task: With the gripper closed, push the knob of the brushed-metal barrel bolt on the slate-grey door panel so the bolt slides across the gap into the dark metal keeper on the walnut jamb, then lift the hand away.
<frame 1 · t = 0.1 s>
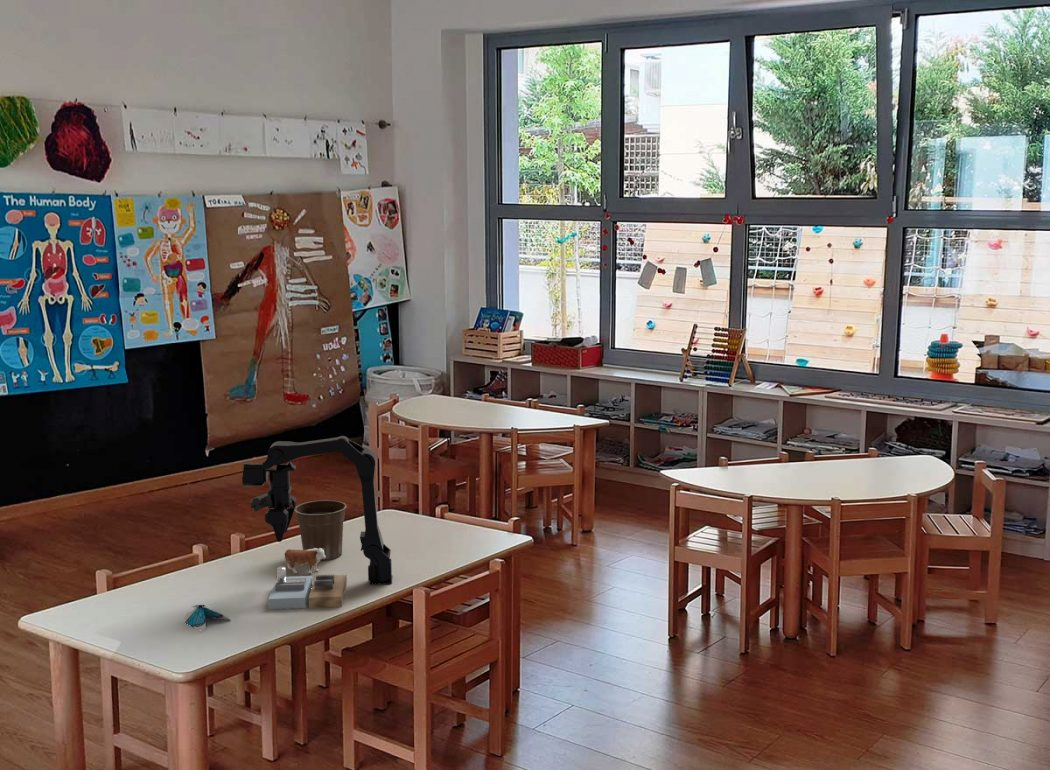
hand: (282, 536, 318), 15 cm above the table, tool pointing down, fingers open, 9 cm apart
jamb: (328, 595, 311), on the table
plant pot: (322, 556, 347), on the table
bull figurine: (307, 573, 331), on the table
bolt: (290, 577, 309), point 6 cm above the table, slide at 0.0 cm
decorative butterfly: (204, 624, 291), on the table
door panel: (291, 597, 310), on the table
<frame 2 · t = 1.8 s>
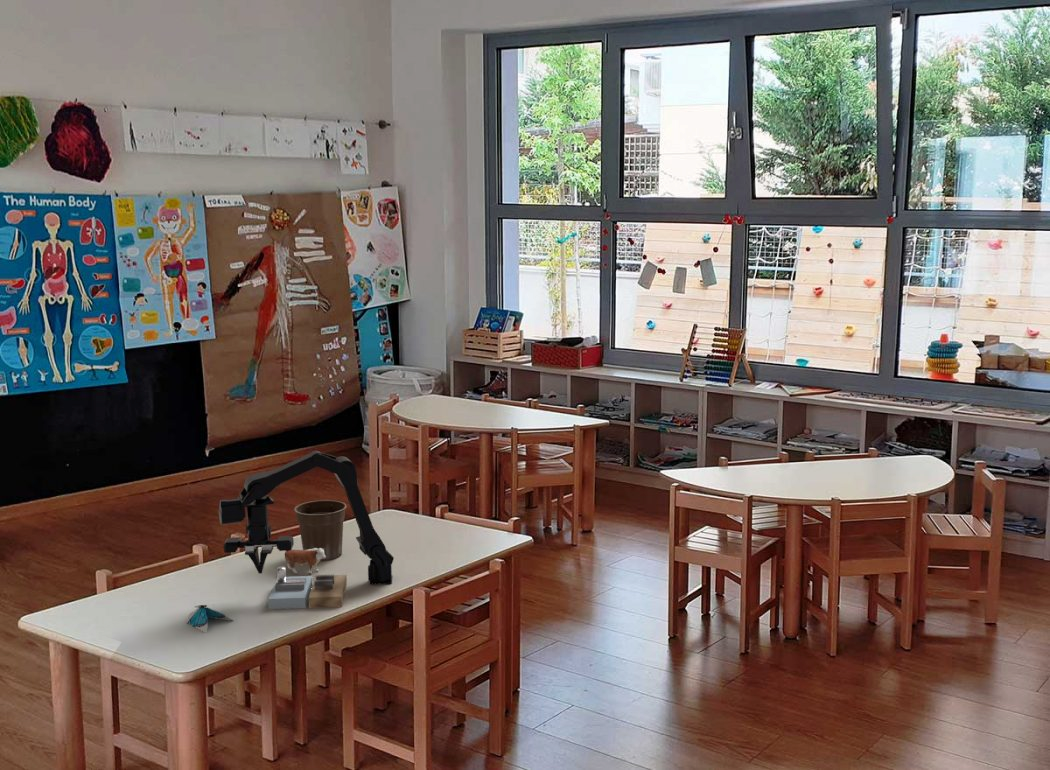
hand: (260, 573, 308), 7 cm above the table, tool pointing down, fingers closed
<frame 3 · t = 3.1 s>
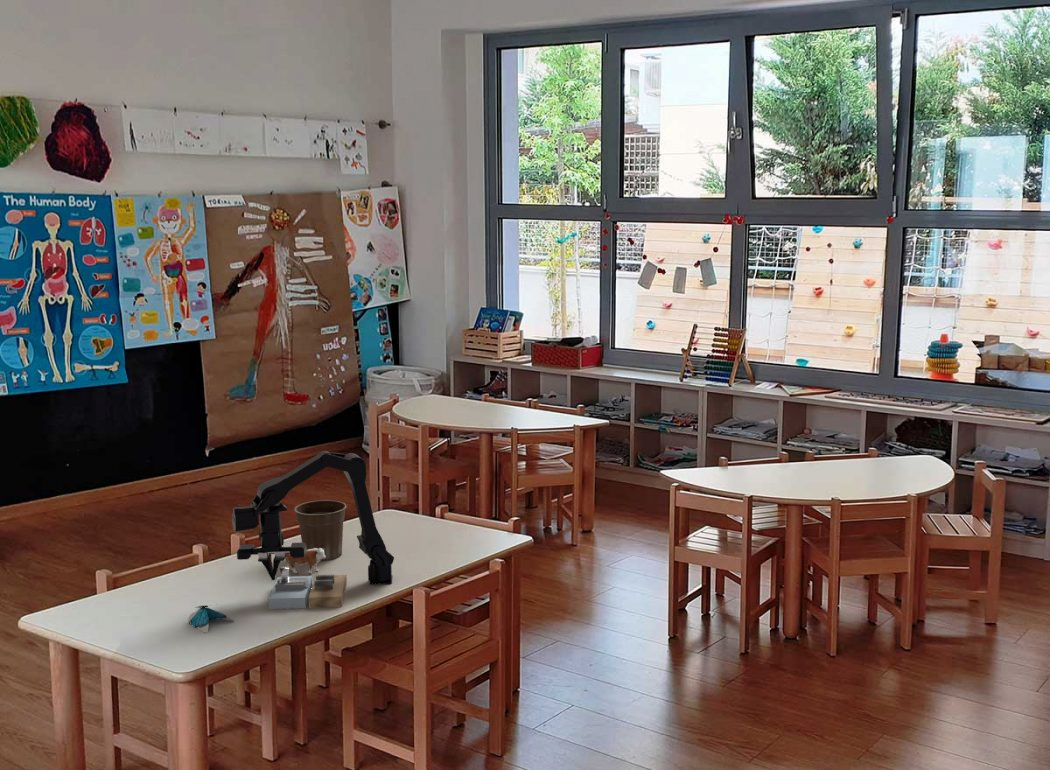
hand: (273, 579, 309), 5 cm above the table, tool pointing down, fingers closed
bolt: (293, 576, 309), point 6 cm above the table, slide at 0.9 cm, touching gripper
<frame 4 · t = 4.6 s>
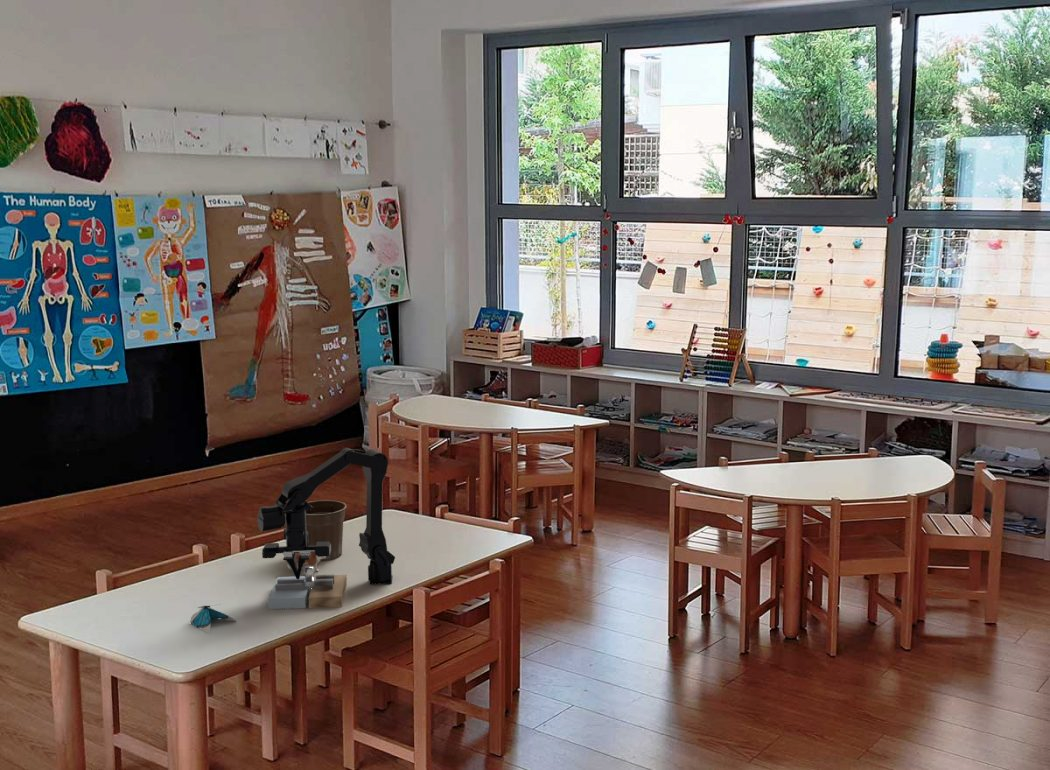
hand: (298, 578, 309), 5 cm above the table, tool pointing down, fingers closed
bolt: (318, 576, 309), point 6 cm above the table, slide at 7.9 cm, touching gripper
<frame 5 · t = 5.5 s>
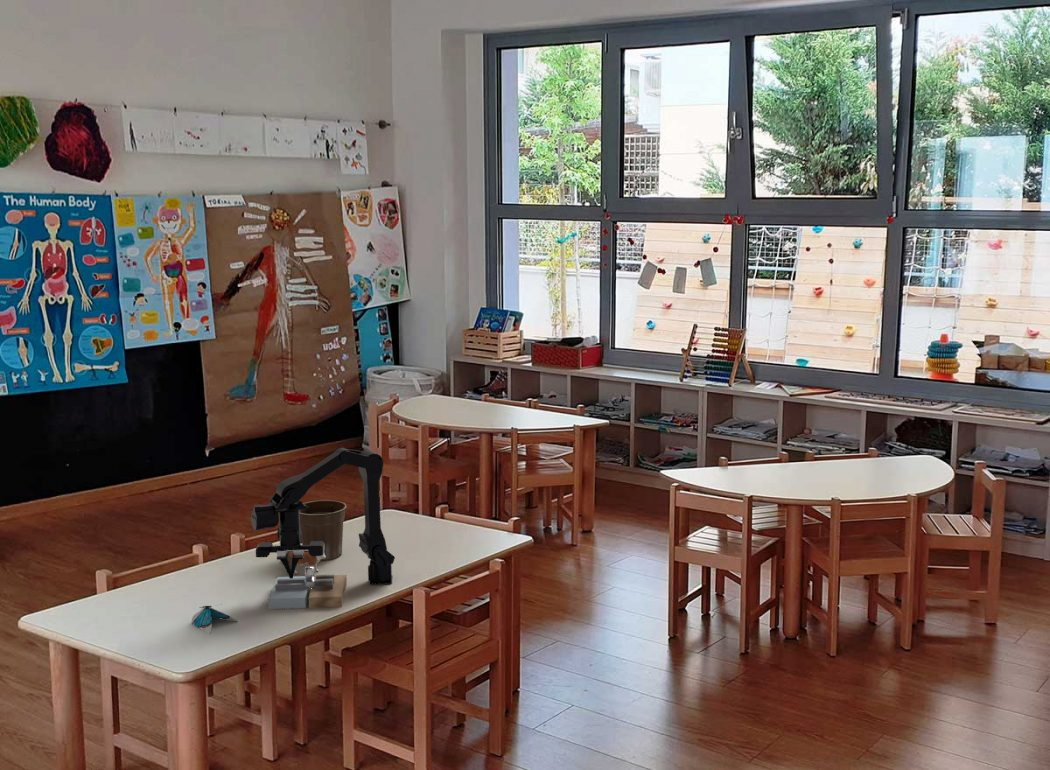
hand: (291, 578, 309), 6 cm above the table, tool pointing down, fingers closed
bolt: (318, 576, 309), point 6 cm above the table, slide at 7.9 cm
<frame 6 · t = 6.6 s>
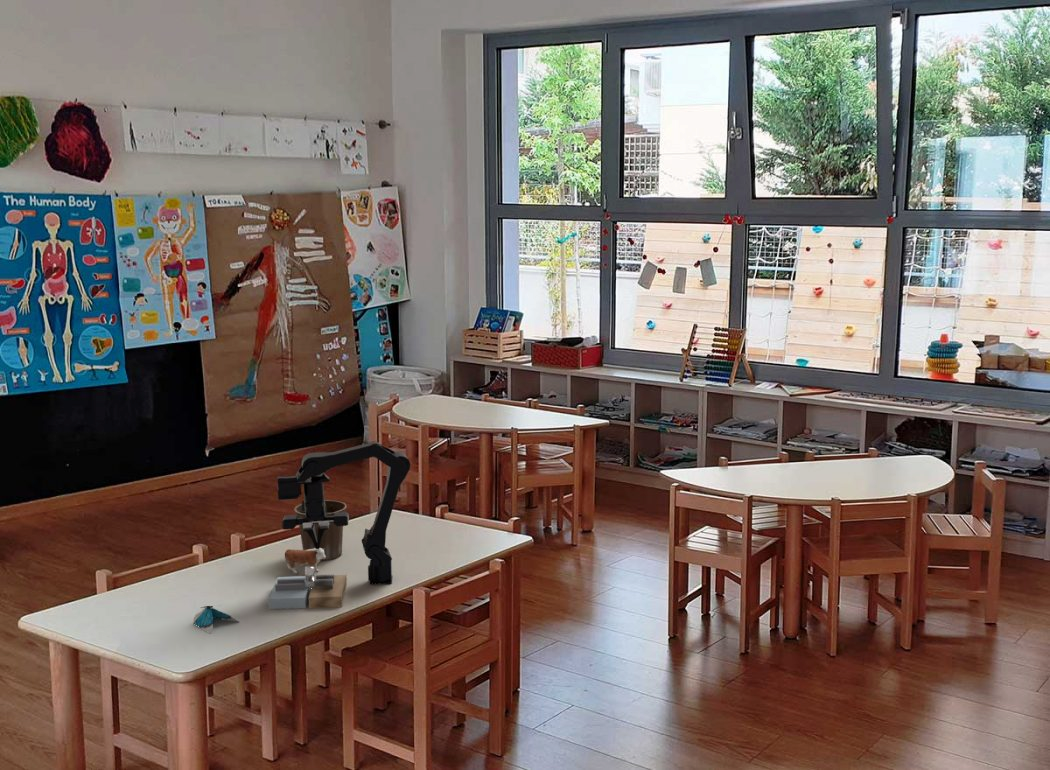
hand: (317, 548, 316), 12 cm above the table, tool pointing down, fingers closed
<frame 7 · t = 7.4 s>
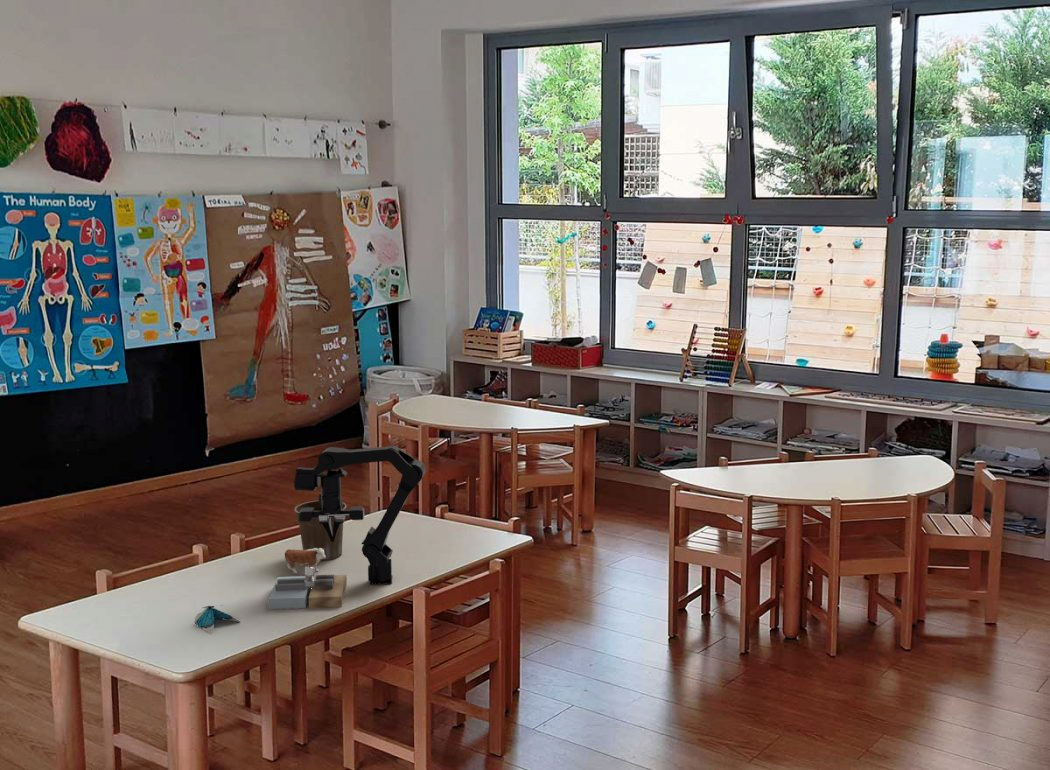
hand: (332, 541, 321), 12 cm above the table, tool pointing down, fingers closed
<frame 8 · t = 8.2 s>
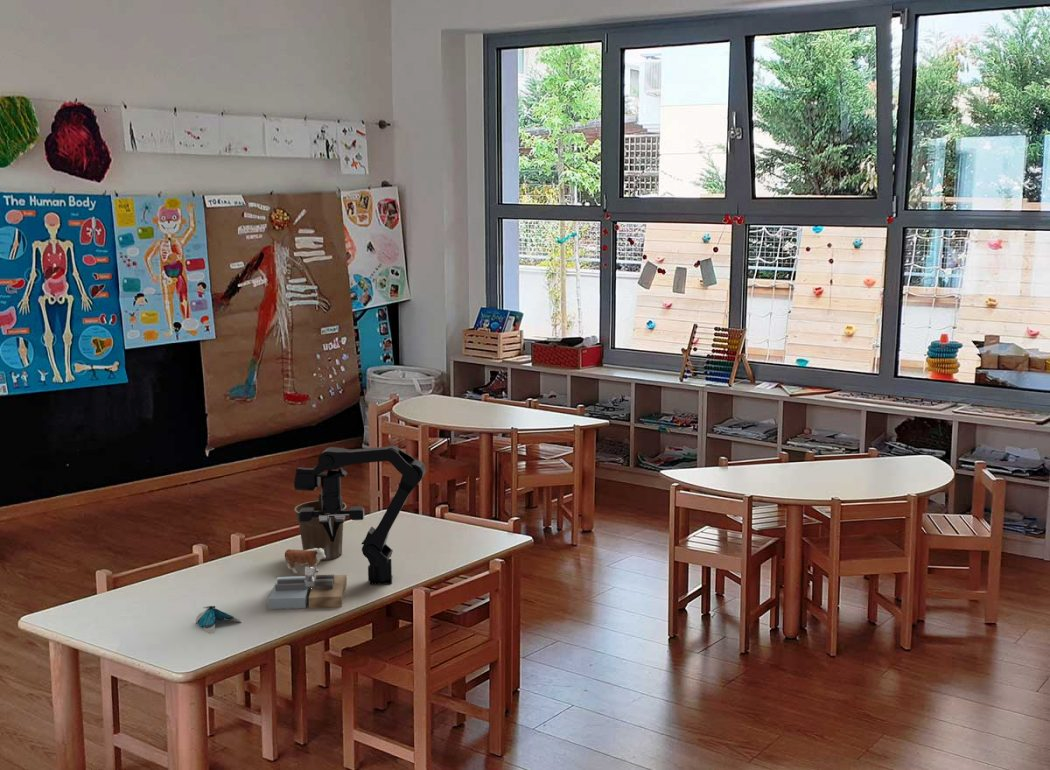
hand: (332, 541, 321), 12 cm above the table, tool pointing down, fingers closed
at the end: bolt slide at 7.9 cm; decorative butterfly moved 3.5 cm from its start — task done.
